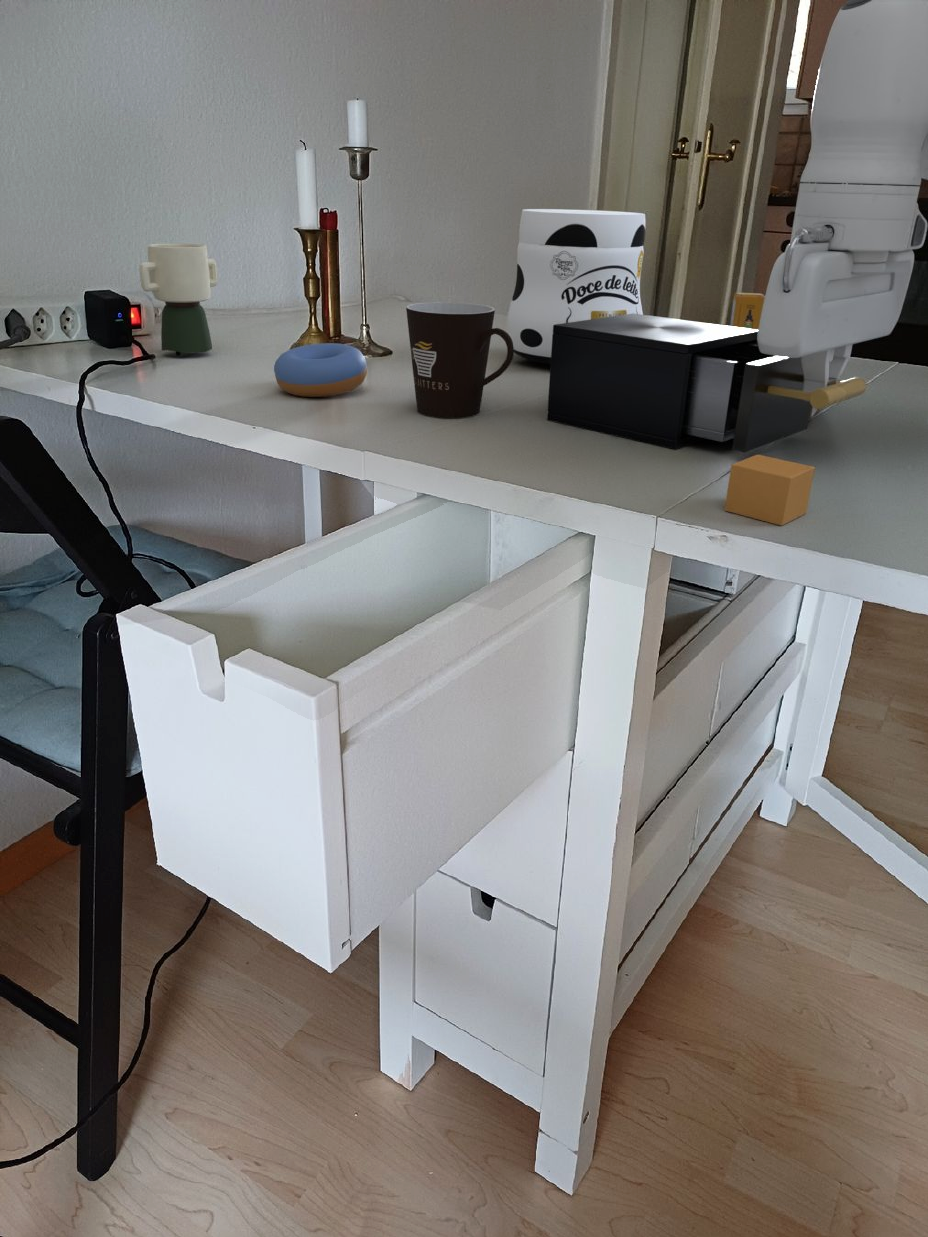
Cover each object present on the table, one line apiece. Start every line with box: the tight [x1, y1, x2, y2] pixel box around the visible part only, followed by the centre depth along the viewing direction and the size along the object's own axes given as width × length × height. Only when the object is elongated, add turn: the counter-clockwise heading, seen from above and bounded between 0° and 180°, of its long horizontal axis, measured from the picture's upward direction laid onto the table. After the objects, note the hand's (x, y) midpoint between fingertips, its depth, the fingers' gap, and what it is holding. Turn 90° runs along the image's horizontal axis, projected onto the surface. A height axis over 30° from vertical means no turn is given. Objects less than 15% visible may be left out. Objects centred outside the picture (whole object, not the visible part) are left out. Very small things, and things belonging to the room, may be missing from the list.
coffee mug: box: [405, 301, 515, 419], centre depth 91 cm, size 12×9×10 cm
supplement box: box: [729, 292, 765, 330], centre depth 111 cm, size 3×3×10 cm
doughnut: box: [273, 342, 368, 398], centre depth 100 cm, size 10×10×5 cm
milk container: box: [506, 208, 646, 366], centre depth 117 cm, size 17×17×18 cm
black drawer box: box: [546, 313, 758, 450], centre depth 90 cm, size 15×14×9 cm
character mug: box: [138, 242, 219, 357], centre depth 116 cm, size 11×7×13 cm, turn 140°
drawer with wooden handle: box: [682, 342, 867, 454], centre depth 84 cm, size 19×12×7 cm, turn 47°
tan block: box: [724, 454, 816, 527], centre depth 67 cm, size 4×4×4 cm
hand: (818, 399), depth 80 cm, fingers closed
